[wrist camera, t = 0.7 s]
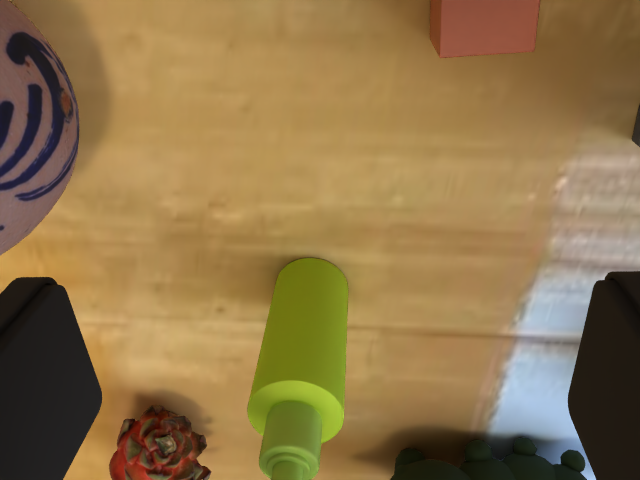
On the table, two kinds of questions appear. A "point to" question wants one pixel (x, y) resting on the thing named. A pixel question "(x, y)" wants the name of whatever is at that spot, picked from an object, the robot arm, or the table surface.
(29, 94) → the ceramic pitcher
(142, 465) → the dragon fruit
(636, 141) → the chest
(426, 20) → the table surface
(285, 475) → the soap dispenser
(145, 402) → the table surface
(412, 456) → the toy figurine
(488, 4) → the block
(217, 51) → the table surface
